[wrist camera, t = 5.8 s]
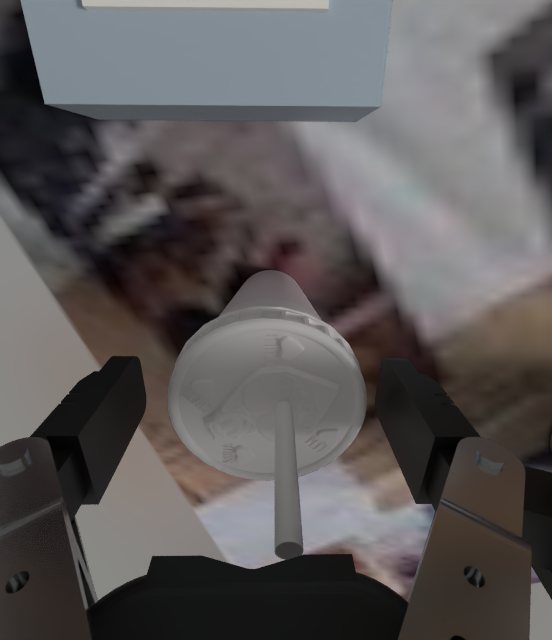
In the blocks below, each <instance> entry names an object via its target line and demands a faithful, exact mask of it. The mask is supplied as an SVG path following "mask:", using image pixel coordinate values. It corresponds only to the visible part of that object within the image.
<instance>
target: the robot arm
mask: <svg viewBox="0 0 552 640" xmlns="http://www.w3.org/2000/svg"><path fill="white" fill-rule="evenodd" d="M375 407H376V412H377V416H378V418H379V420H380V423H381V425H382V427H383V430H384V432H385V434H386V436H387V439H388V441H389V443H390V446H391V448H392V450H393V452H394V455H395V457H396V459H397V462H398V464H399V466H400V468H401V471H402V473H403V475H404V478H405V480H406V482H407V484H408V487H409V489H410V491H411V494H412V496H413V498H414V501H415V503H416V504H432V505H433V507H434V510H435V515H434V518H433V521H432V524H431V528H430V531H429V534H428V537H427V540H426V544H425V547H424V550H423V553H422V556H421V559H420V563H419V566H418V569H417V572H416V575H415V579H414V582H413V585H412V588H411V591H410V594H409V597H408V600H407V601H406V600H405V599H404V598H402V597H401V596H400V595H399V594H397V593H396V592H395V591H393V590H392V589H390V588H389V587H388V586H386V585H384V584H382V583H381V582H379V581H377V580H375V579H373V578H371V577H368V576H366V575H364V574H360V573H357V572H356V571H355V566H354V561H353V557H352V554H321V555H301V556H297V557H294V558H291V559H288V560H284V561H281V562H278V563H274V564H271V565H268V566H264V567H261V568H258V569H247V568H243V567H240V566H236V565H233V564H229V563H226V562H222V561H218V560H215V559H212V558H208V557H204V556H152V559H151V563H150V566H149V569H148V573H147V575H144V576H141V577H139V578H136V579H134V580H132V581H129V582H127V583H125V584H123V585H122V586H120V587H118V588H116V589H114V590H113V591H111V592H110V593H109V594H107V595H105V596H104V597H102V598H101V599H100V600H98V598H97V595H96V592H95V589H94V585H93V582H92V578H91V574H90V571H89V566H88V562H87V559H86V555H85V551H84V547H83V544H82V540H81V536H80V532H79V528H78V524H77V521H76V518H75V515H76V513H77V511H78V509H79V507H80V506H81V505H82V504H84V505H85V504H99V502H100V500H101V498H102V496H103V494H104V492H105V490H106V488H107V486H108V484H109V482H110V481H111V479H112V476H113V475H114V473H115V471H116V469H117V466H118V465H119V463H120V461H121V459H122V457H123V455H124V452H125V451H126V449H127V447H128V445H129V443H130V441H131V439H132V437H133V435H134V433H135V431H136V429H137V427H138V425H139V423H140V421H141V419H142V417H143V415H144V412H145V408H146V392H145V386H144V380H143V375H142V369H141V363H140V360H139V358H138V357H136V356H112V357H111V358H110V359H109V360H108V361H107V363H106V364H105V365H104V366H103V367H102V369H101V370H100V371H94V372H93V373H91V374H90V375H88V376H86V377H85V378H83V379H82V380H80V381H79V382H78V383H77V384H76V385H75V386H74V388H73V389H72V390H71V391H70V392H69V394H68V395H66V397H65V398H64V399H63V400H62V401H61V404H59V405H58V406H57V407H56V408H55V409H54V410H53V411H52V412H51V414H50V415H49V416H48V417H47V418H46V419H45V420H44V422H43V423H42V424H41V425H40V426H39V427H38V428H37V429H36V431H35V432H34V433H33V434H32V435H31V436H30V437H28V438H22V439H18V440H15V441H12V442H9V443H7V444H5V445H3V446H1V447H0V640H529V632H530V631H529V630H530V595H531V566H532V568H533V569H534V571H535V573H536V574H537V576H538V578H539V579H540V581H541V583H542V584H543V586H544V588H545V589H546V591H547V593H548V594H549V596H550V598H551V599H552V473H551V472H547V471H543V470H539V469H534V468H530V467H526V466H524V465H523V464H522V462H521V461H520V459H519V458H518V457H517V456H516V455H515V454H514V453H513V452H511V451H510V450H509V449H507V448H506V447H504V446H503V445H501V444H499V443H497V442H494V441H492V440H489V439H486V438H481V437H480V436H479V434H478V433H477V432H476V430H475V429H474V428H473V427H472V425H471V424H470V423H469V422H468V420H467V419H466V418H465V416H464V415H463V414H462V413H461V411H460V410H459V409H458V407H457V406H454V402H453V401H452V400H451V399H450V397H449V396H447V393H446V392H445V391H444V390H443V388H442V387H441V386H440V384H439V383H438V382H436V381H435V380H433V379H432V378H430V377H429V376H427V375H426V374H419V373H418V371H417V370H416V368H415V367H414V366H413V364H412V363H411V362H410V360H409V359H407V358H385V359H383V361H382V363H381V368H380V374H379V379H378V385H377V391H376V397H375ZM550 448H551V451H552V434H551V437H550Z"/></svg>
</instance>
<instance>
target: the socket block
mask: <svg viewBox="0 0 552 640" xmlns="http://www.w3.org/2000/svg"><path fill="white" fill-rule="evenodd" d="M392 4H393V0H21V5H22V9H23V13H24V17H25V22H26V26H27V30H28V35H29V39H30V43H31V47H32V52H33V56H34V60H35V64H36V69H37V73H38V77H39V81H40V86H41V90H42V94H43V98H44V103H45V104H47V105H50V106H54V107H57V108H60V109H64V110H67V111H71V112H74V113H78V114H81V115H84V116H88V117H91V118H95V119H98V120H200V121H328V122H356V121H358V120H360V119H361V118H363V117H365V116H366V115H368V114H370V113H371V112H373V111H374V110H376V109H378V108H379V107H381V100H382V91H383V83H384V74H385V65H386V56H387V48H388V39H389V30H390V22H391V13H392Z"/></svg>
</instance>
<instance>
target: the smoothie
mask: <svg viewBox="0 0 552 640" xmlns="http://www.w3.org/2000/svg"><path fill="white" fill-rule="evenodd" d="M167 406H168V412H169V417H170V420H171V423H172V425H173V427H174V429H175V431H176V433H177V435H178V436H179V438H180V439H181V441H182V442H183V443H184V445H185V446H186V447H187V448H188V449H189V450H190V451H191V452H192V453H193V454H194V455H195V456H197V457H198V458H199V459H201V460H202V461H203V462H205V463H207V464H208V465H210V466H212V467H214V468H215V469H217V470H219V471H222V472H224V473H227V474H230V475H232V476H236V477H241V478H245V479H250V480H263V481H272V480H275V554H276V555H277V556H278V557H279V558H282V559H285V560H288V559H291V558H294V557H297V556H301V555H302V554H303V539H302V525H301V512H300V499H299V485H298V477H300V476H303V475H306V474H308V473H311V472H314V471H316V470H318V469H320V468H322V467H324V466H326V465H327V464H329V463H331V462H332V461H333V460H335V459H336V458H337V457H339V456H340V455H341V454H342V453H343V452H344V451H345V450H346V449H347V448H348V447H349V446H350V445H351V443H352V442H353V441H354V439H355V438H356V436H357V434H358V433H359V431H360V429H361V427H362V424H363V421H364V418H365V414H366V408H367V393H366V386H365V383H364V379H363V376H362V374H361V371H360V365H359V362H358V360H357V358H356V357H355V355H354V353H353V351H352V349H351V347H350V345H349V343H348V342H347V341H346V340H345V339H344V338H343V337H342V336H341V335H340V334H339V333H338V332H337V331H336V330H335V329H334V328H333V327H332V326H330V325H328V324H327V323H325V322H323V321H322V320H321V318H320V317H319V315H318V314H317V312H316V311H315V309H314V308H313V306H312V305H311V303H310V302H309V300H308V299H307V297H306V296H305V294H304V293H303V291H302V290H301V288H300V287H299V285H298V284H297V283H296V281H295V280H294V279H293V278H292V277H290V276H289V275H287V274H285V273H283V272H280V271H276V270H266V271H261V272H258V273H256V274H254V275H252V276H251V277H250V278H248V279H247V280H246V282H245V283H244V284H243V285H242V287H241V288H240V289H239V291H238V292H237V293H236V295H235V296H234V297H233V298H232V300H231V301H230V302H229V304H228V305H227V306H226V308H225V309H224V310H223V312H222V313H221V314H220V315H219V317H218V318H216V319H214V320H212V321H210V322H208V323H206V324H204V325H203V326H202V327H201V328H200V329H199V330H198V331H197V332H196V333H195V334H194V335H193V336H192V337H191V338H190V339H189V340H188V341H187V342H186V344H185V345H184V347H183V349H182V351H181V353H180V355H179V356H178V358H177V360H176V362H175V367H174V370H173V373H172V375H171V378H170V381H169V385H168V391H167Z"/></svg>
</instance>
